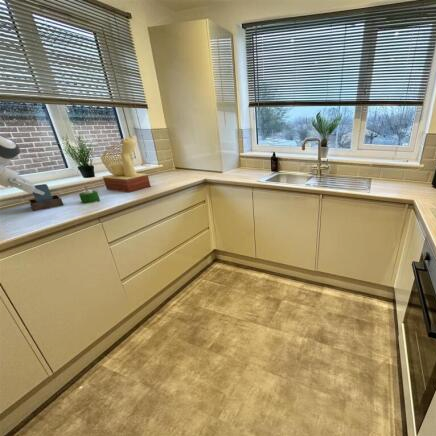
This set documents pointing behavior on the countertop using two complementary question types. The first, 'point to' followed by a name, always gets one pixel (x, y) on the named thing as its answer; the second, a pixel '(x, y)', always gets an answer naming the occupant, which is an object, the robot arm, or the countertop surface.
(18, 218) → the countertop surface
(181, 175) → the countertop surface
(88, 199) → the candle
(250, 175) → the countertop surface
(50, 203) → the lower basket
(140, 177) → the cream sculpture
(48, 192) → the grey rectangular block
